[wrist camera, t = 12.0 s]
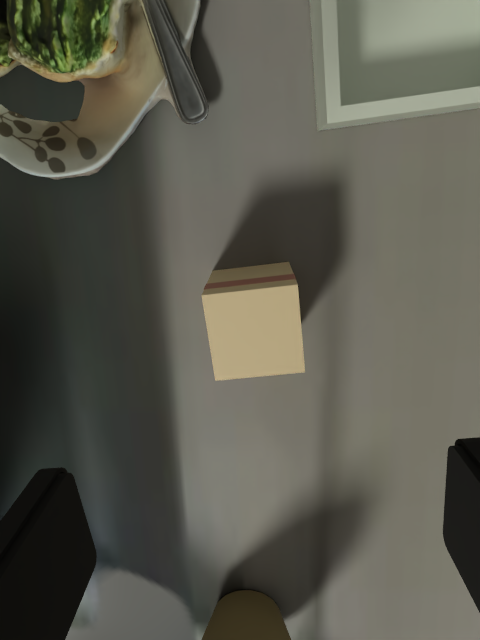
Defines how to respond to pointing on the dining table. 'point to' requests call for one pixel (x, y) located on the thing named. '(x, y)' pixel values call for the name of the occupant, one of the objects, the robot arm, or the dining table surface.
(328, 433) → the dining table surface
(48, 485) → the robot arm
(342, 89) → the tote
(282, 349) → the cardboard box
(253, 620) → the squeeze bottle
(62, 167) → the salad plate
